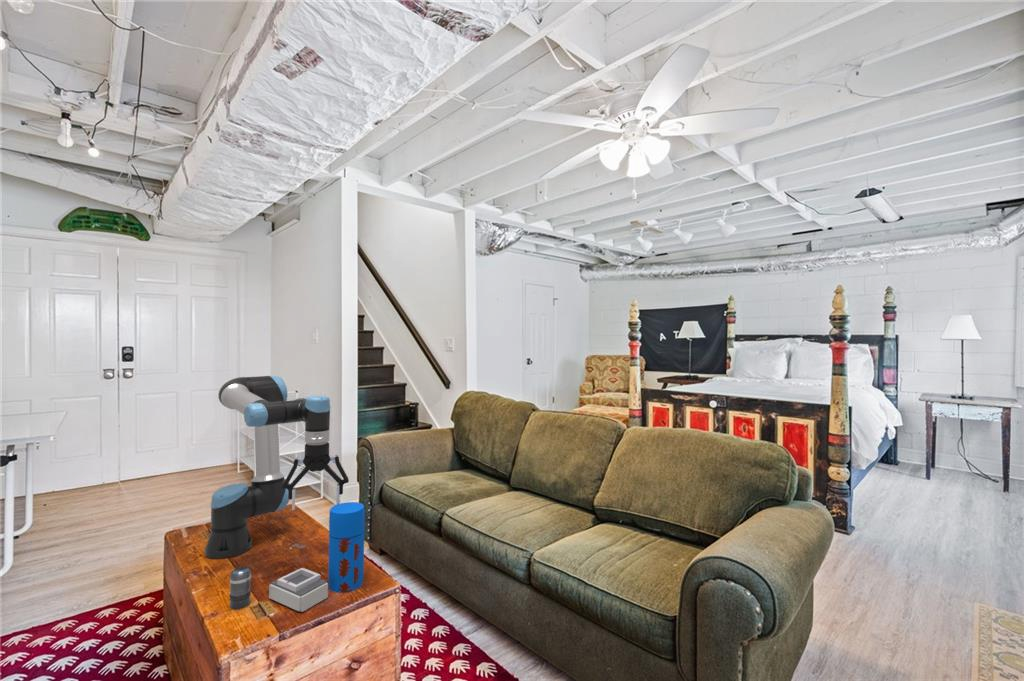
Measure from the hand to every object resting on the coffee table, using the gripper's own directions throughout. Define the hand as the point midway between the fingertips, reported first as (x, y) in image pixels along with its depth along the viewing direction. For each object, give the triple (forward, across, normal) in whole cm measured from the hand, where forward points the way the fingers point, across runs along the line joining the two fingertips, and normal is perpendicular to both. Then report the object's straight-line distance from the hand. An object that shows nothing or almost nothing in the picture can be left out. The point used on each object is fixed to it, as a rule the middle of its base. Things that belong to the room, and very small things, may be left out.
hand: (315, 506), depth 154 cm
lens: (+24, -20, -9) cm, 33 cm away
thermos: (+24, +10, -7) cm, 27 cm away
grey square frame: (+24, -4, -11) cm, 27 cm away
